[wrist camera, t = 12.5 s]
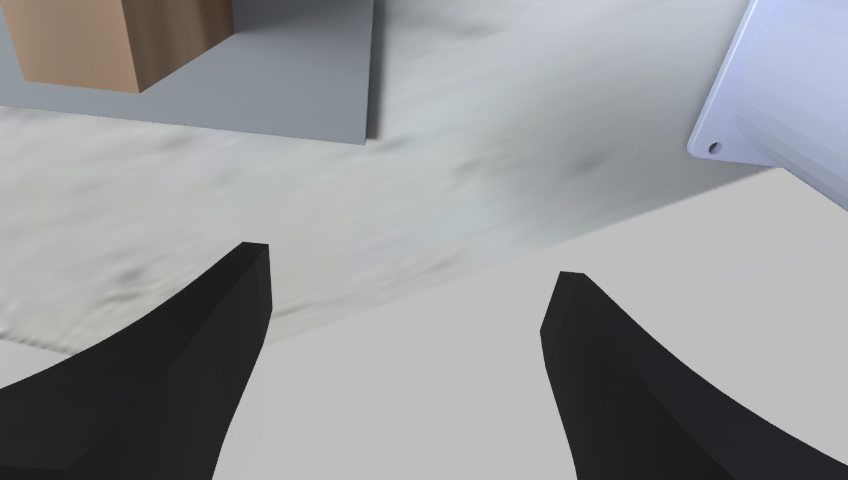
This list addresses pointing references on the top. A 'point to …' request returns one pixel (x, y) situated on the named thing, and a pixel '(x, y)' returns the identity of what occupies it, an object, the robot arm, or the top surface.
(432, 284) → the top surface
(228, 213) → the top surface
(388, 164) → the top surface
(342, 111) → the mat
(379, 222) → the top surface
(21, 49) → the white-capped wooden block
